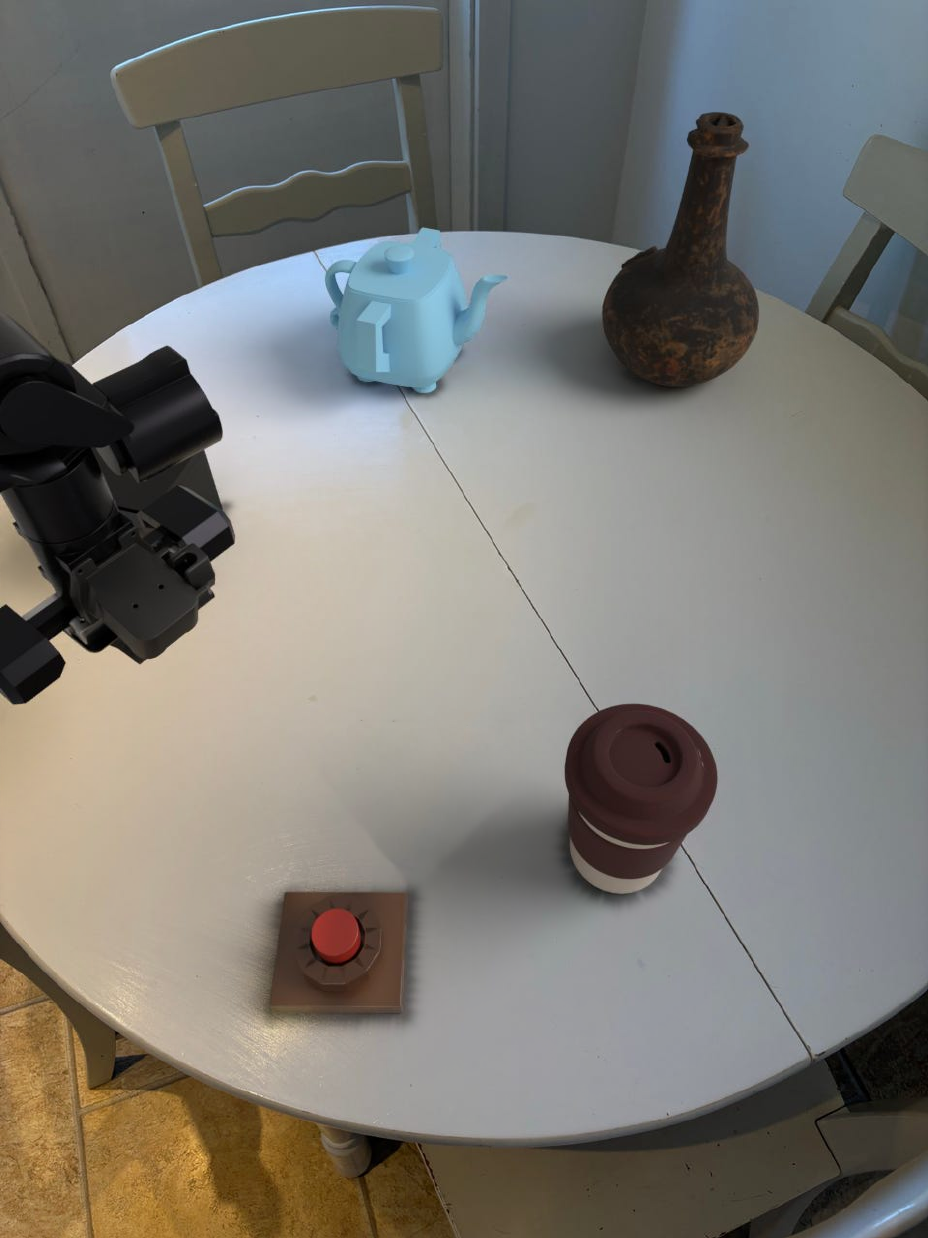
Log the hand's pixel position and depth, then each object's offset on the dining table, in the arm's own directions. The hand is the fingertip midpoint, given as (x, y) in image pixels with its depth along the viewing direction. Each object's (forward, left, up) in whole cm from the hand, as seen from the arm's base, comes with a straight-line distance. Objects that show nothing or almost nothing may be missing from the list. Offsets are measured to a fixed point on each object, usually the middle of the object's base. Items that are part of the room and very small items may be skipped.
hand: (140, 658), depth 67 cm
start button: (+7, -23, -8) cm, 25 cm away
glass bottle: (+66, +28, -11) cm, 72 cm away
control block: (+7, -23, -11) cm, 27 cm away
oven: (+3, +25, -11) cm, 27 cm away
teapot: (+38, +40, -11) cm, 56 cm away
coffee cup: (+29, -24, -11) cm, 39 cm away
